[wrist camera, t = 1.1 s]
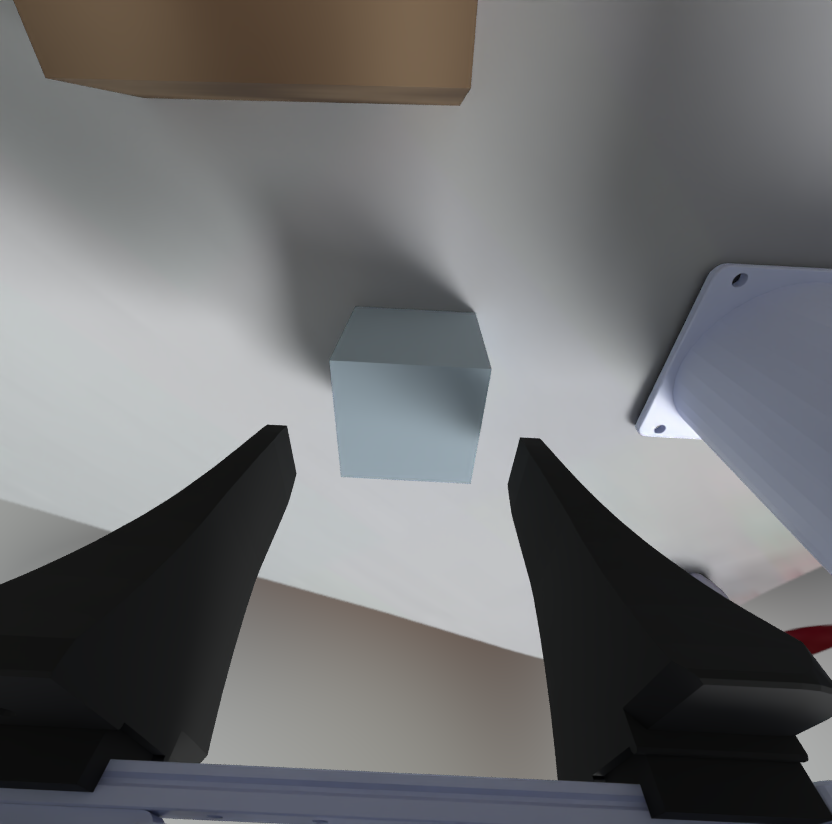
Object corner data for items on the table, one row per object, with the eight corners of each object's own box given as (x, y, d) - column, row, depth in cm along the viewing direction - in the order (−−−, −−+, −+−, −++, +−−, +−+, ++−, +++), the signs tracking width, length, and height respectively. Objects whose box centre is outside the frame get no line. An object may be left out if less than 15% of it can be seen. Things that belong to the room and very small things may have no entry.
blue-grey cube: (474, 311, 15) (491, 369, 11) (461, 409, 18) (470, 483, 14) (355, 305, 15) (329, 360, 11) (361, 404, 18) (341, 476, 14)
